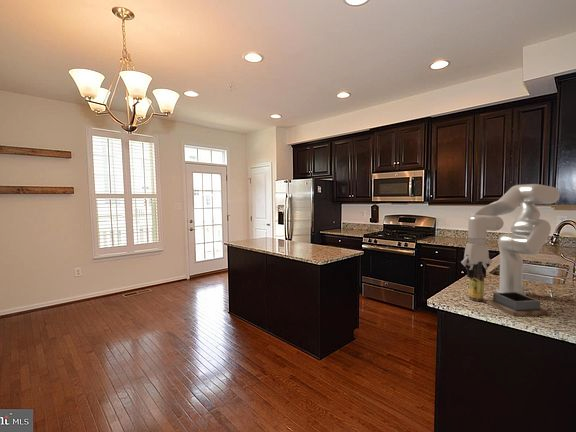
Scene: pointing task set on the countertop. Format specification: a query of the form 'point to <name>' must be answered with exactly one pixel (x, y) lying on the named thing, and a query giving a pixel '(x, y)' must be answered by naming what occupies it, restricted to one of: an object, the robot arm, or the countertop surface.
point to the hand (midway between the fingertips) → (476, 276)
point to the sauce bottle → (476, 283)
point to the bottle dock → (516, 304)
